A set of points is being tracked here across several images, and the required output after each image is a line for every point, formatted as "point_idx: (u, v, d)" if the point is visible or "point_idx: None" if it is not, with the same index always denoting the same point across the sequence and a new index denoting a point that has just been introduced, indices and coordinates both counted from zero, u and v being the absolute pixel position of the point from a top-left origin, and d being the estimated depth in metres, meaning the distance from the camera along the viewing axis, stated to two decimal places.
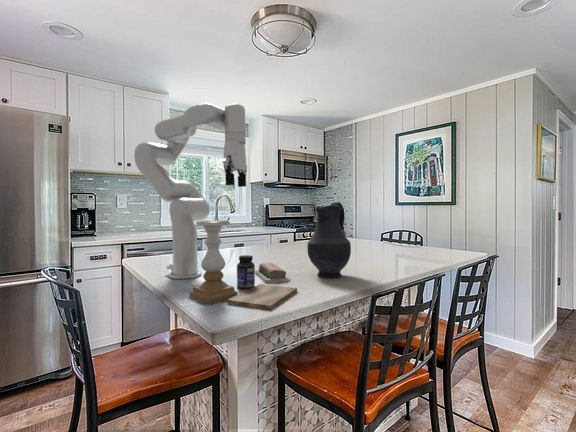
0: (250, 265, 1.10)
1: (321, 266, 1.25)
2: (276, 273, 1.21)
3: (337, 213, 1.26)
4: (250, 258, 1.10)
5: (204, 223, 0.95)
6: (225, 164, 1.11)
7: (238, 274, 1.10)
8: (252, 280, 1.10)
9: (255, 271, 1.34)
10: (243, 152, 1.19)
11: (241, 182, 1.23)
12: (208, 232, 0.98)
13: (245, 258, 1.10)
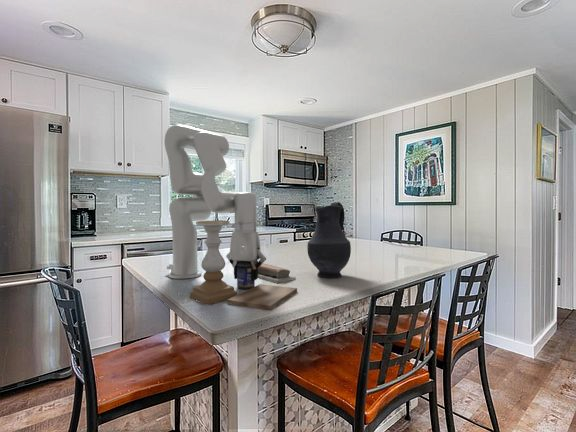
0: (250, 265, 1.10)
1: (321, 266, 1.25)
2: (283, 272, 1.23)
3: (337, 213, 1.26)
4: None
5: (204, 223, 0.95)
6: (263, 261, 1.09)
7: (238, 274, 1.10)
8: None
9: None
10: None
11: None
12: (208, 232, 0.98)
13: None
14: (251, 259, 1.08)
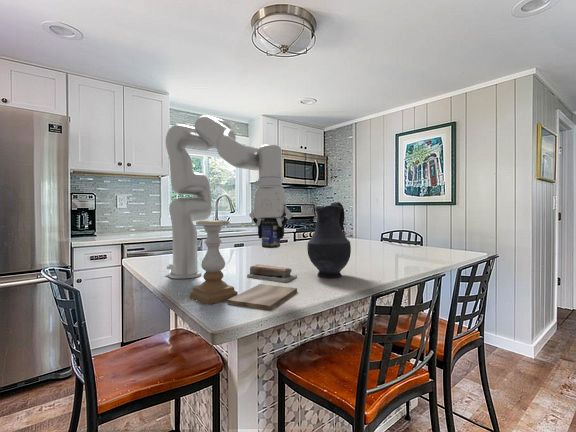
0: (276, 222, 1.03)
1: (321, 266, 1.25)
2: (287, 271, 1.24)
3: (337, 213, 1.26)
4: None
5: (204, 223, 0.95)
6: (290, 218, 1.03)
7: (263, 232, 1.04)
8: None
9: (248, 275, 1.28)
10: None
11: None
12: (208, 232, 0.98)
13: None
14: (277, 215, 1.01)
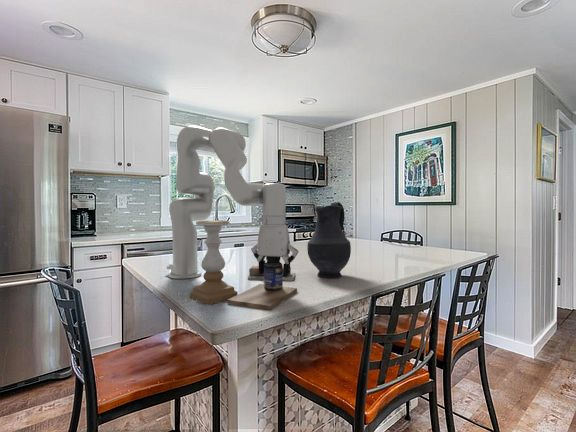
0: (278, 265, 1.03)
1: (321, 266, 1.25)
2: (290, 270, 1.27)
3: (337, 213, 1.26)
4: (278, 258, 1.04)
5: (204, 223, 0.95)
6: None
7: (266, 275, 1.04)
8: (280, 281, 1.04)
9: (249, 277, 1.24)
10: None
11: (263, 268, 1.07)
12: (208, 232, 0.98)
13: (273, 258, 1.03)
14: (281, 254, 1.01)
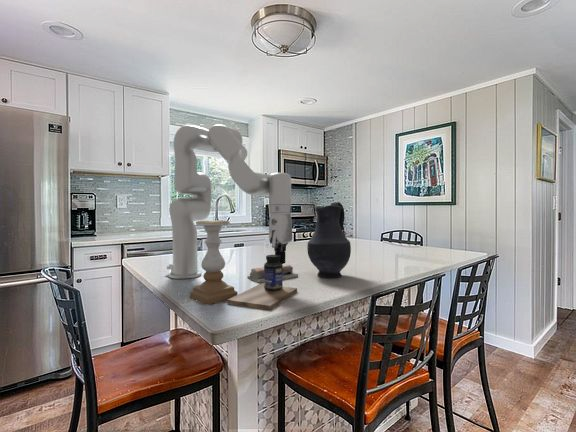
0: (278, 265, 1.03)
1: (321, 266, 1.25)
2: None
3: (337, 213, 1.26)
4: (278, 258, 1.04)
5: (204, 223, 0.95)
6: None
7: (265, 275, 1.04)
8: (280, 281, 1.04)
9: (261, 280, 1.19)
10: None
11: None
12: (208, 232, 0.98)
13: (273, 258, 1.03)
14: (291, 239, 1.12)
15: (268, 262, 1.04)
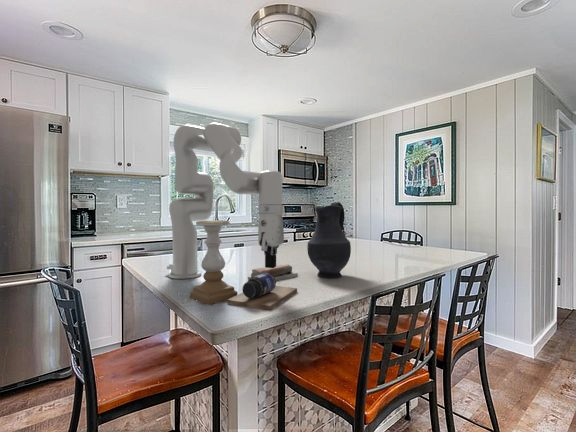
0: (261, 292, 0.94)
1: (321, 266, 1.25)
2: None
3: (337, 213, 1.26)
4: (256, 292, 0.93)
5: (204, 223, 0.95)
6: None
7: None
8: (271, 285, 0.99)
9: None
10: None
11: None
12: (208, 232, 0.98)
13: (253, 296, 0.93)
14: (283, 241, 1.05)
15: None
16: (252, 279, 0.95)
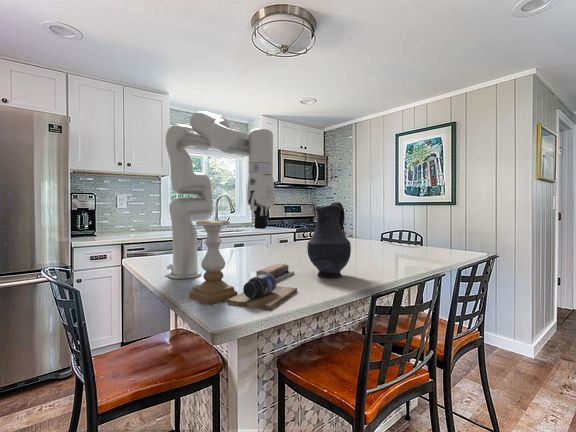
0: (262, 293, 0.94)
1: (321, 266, 1.25)
2: None
3: (337, 213, 1.26)
4: (257, 292, 0.93)
5: (204, 223, 0.95)
6: None
7: None
8: (272, 286, 0.99)
9: None
10: None
11: None
12: (208, 232, 0.98)
13: (253, 297, 0.93)
14: (273, 203, 1.03)
15: None
16: (253, 279, 0.95)
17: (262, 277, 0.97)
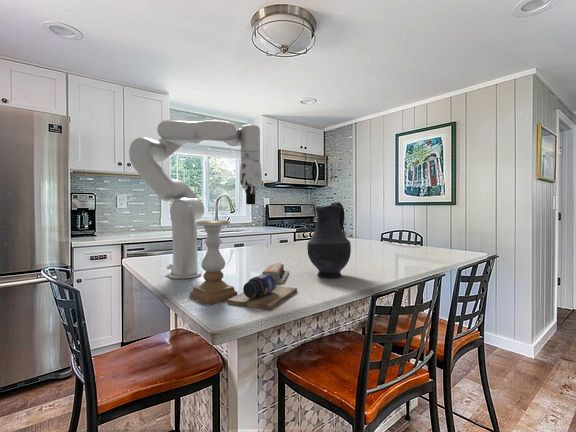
0: (262, 293, 0.94)
1: (321, 266, 1.25)
2: None
3: (337, 213, 1.26)
4: (257, 292, 0.93)
5: (204, 223, 0.95)
6: None
7: None
8: (272, 286, 0.99)
9: (283, 280, 1.19)
10: None
11: None
12: (208, 232, 0.98)
13: (253, 297, 0.93)
14: (261, 184, 1.28)
15: None
16: (253, 279, 0.95)
17: (262, 277, 0.97)
